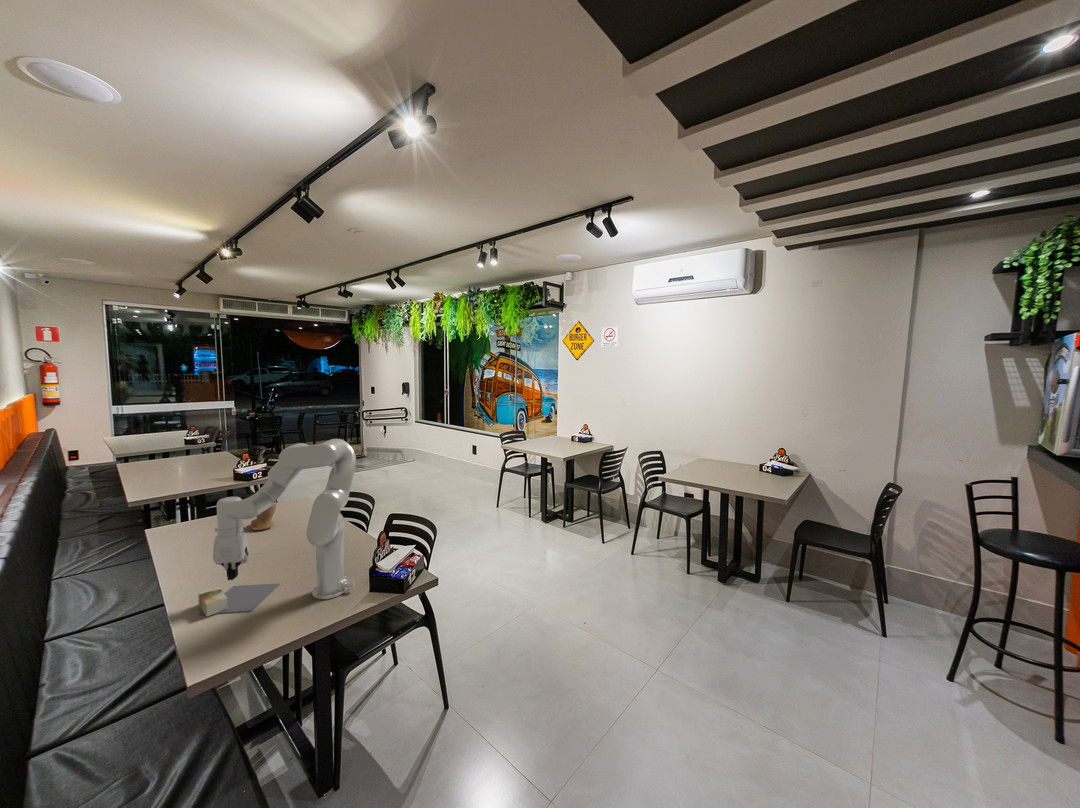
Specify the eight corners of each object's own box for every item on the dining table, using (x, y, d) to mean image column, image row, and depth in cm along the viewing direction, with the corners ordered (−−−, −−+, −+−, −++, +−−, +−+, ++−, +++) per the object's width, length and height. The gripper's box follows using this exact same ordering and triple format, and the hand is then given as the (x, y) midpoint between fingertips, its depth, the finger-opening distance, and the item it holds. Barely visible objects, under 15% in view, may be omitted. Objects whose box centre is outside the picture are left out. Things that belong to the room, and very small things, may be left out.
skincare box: (219, 586, 149) (228, 597, 142) (219, 597, 150) (229, 608, 142) (196, 593, 144) (205, 605, 137) (197, 604, 144) (206, 617, 137)
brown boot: (277, 528, 219) (276, 502, 218) (251, 533, 212) (250, 506, 211) (276, 520, 231) (275, 495, 230) (251, 524, 224) (250, 498, 223)
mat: (279, 584, 160) (279, 583, 160) (251, 611, 141) (251, 610, 141) (233, 586, 158) (233, 585, 158) (199, 614, 139) (199, 613, 139)
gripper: (201, 535, 143) (203, 584, 144) (246, 533, 145) (248, 582, 146) (215, 527, 150) (217, 574, 151) (258, 526, 152) (259, 572, 153)
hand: (232, 578), depth 149 cm, fingers closed
